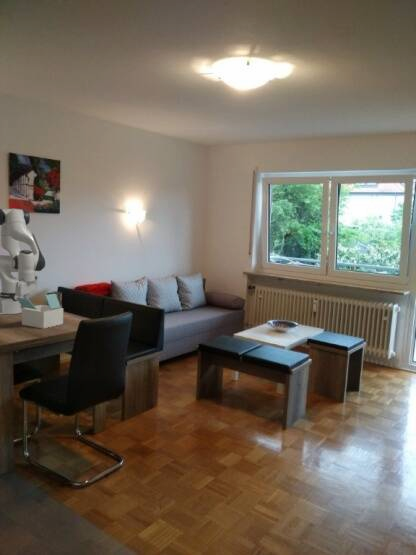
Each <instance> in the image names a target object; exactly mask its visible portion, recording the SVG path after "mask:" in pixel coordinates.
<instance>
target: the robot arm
mask: <svg viewBox="0 0 416 555" xmlns="http://www.w3.org/2000/svg"><path fill="white" fill-rule="evenodd" d="M30 221H31V214H30V212H29V210H27V209H23V208H22V209H20V208H0V226H1V227H0V246H1V248H2V249H3V250H5V251H6V252H8V254H9V255H8V254H7V255H4V254H1V255H0V284H1V291H0V315H15V314H20V313H21V314H22V304H21V303H20V302H19V301H18V300H17V299H16V298H21V297H22V296H23V299H29V298H30V294H31V293H34V292H36V291H37V290H38V279H39V277H38V275H36V274H35V272H41V271H42V270H43V269H45V267H46V260H45V259H46V258H45V257H44V256H43V254H42V251H41V248H40V246H39V243H38V242H37V239H36V237H35V235H34V233H33V232H31V231H30V230H29V229H28V227H27V225H29V224H30ZM20 242H21V243H24V244H26V245H28V246H29V247H30V250H27V249H23V250H22V249H21V246H20ZM12 273H17V277H15V276H14V275H13V274H12ZM29 300H30V299H29Z"/></svg>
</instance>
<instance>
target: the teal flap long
mask: <svg viewBox="0 0 416 555" xmlns="http://www.w3.org/2000/svg"><path fill="white" fill-rule="evenodd" d="M16 299H17V300H18V301H19V302H20V303H21V307H23V308H30V309H36V307H35V306H36V305H34V304H33V303H32V301H31V300H30V299H24V298H21V297H19V298H16Z"/></svg>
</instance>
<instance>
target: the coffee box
mask: <svg viewBox="0 0 416 555" xmlns="http://www.w3.org/2000/svg"><path fill="white" fill-rule="evenodd" d="M49 294H56V297H57V299H58V302H59V304H60V307H58V308H63V292H62V291H50V292H47V293H46V295H49ZM46 306H49V304H48V302H47V301H46Z"/></svg>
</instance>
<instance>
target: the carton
mask: <svg viewBox="0 0 416 555" xmlns="http://www.w3.org/2000/svg"><path fill="white" fill-rule="evenodd" d="M34 306H35V307H36V309H30V308H25V307H23V308H22V307H21V309H22V312H21V325H22V326H28V327H33V328H36V329H37V328H39V329H42V330H44V329H47V328H48V327H49V328H53V327H56V325H57V326H61V325H63V324H64V308H63V307H62V308H53V309H50V307H49V306H47V304H46V305H45V304H44V305H43V304H39V305H34ZM52 326H53V327H52Z"/></svg>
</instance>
